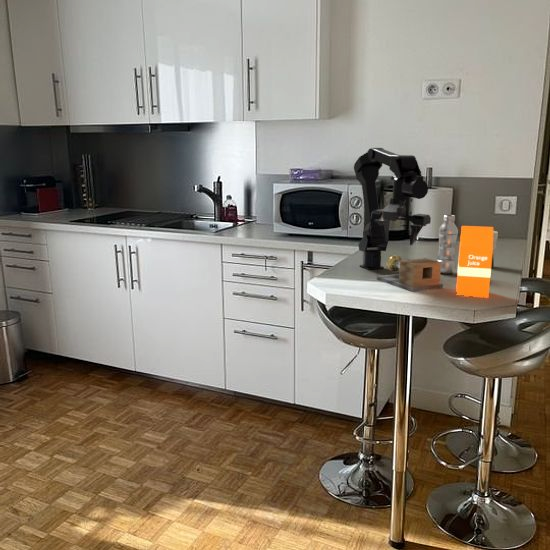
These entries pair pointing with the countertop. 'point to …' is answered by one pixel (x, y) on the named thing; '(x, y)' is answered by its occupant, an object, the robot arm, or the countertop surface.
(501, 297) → the countertop surface
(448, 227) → the plastic bottle
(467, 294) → the orange juice
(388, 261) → the shaft
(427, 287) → the bearing block
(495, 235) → the character mug
